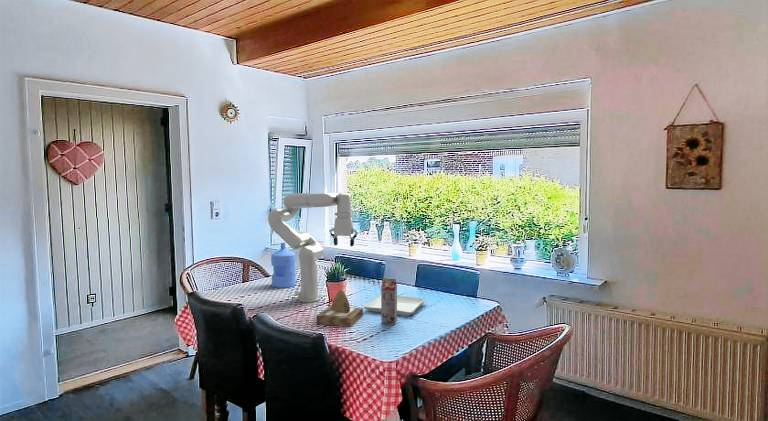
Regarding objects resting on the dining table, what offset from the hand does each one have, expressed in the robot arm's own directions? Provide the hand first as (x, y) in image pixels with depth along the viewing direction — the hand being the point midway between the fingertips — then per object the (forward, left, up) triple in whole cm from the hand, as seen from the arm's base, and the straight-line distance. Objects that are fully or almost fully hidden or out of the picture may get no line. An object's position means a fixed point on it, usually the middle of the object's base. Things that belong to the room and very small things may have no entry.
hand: (343, 245), depth 269 cm
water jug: (-53, +29, -33) cm, 69 cm away
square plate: (+31, -3, -33) cm, 46 cm away
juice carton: (+34, -28, -33) cm, 55 cm away
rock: (+9, -29, -29) cm, 42 cm away
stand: (+9, -30, -33) cm, 45 cm away
